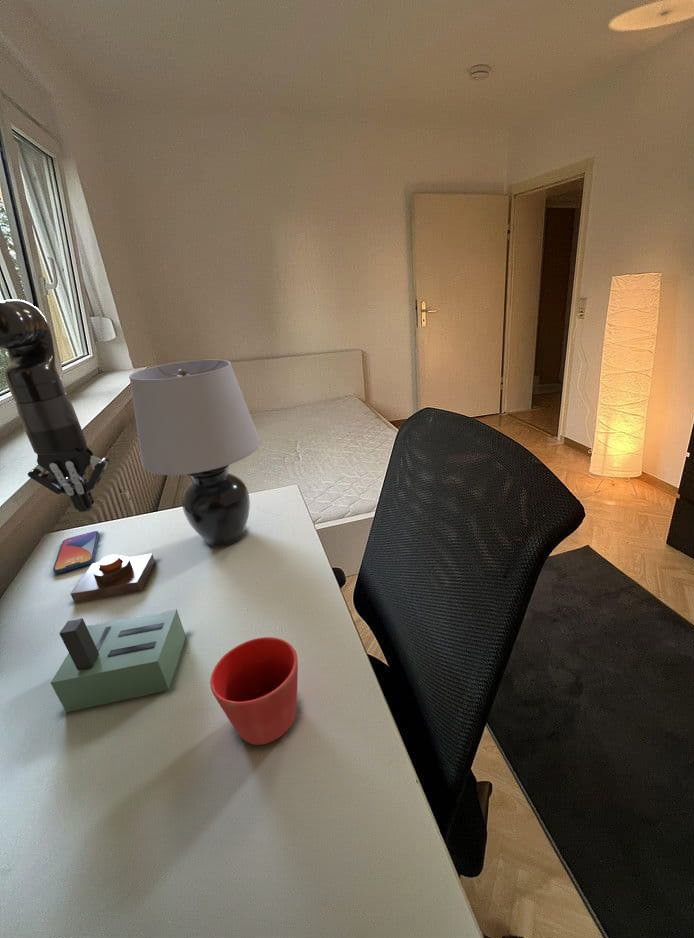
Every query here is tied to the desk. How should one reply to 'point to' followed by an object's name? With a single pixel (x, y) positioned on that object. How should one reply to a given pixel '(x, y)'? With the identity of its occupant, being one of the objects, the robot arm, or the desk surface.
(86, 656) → the slide button
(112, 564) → the round button
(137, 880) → the desk surface
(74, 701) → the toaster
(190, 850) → the desk surface
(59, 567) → the smartphone
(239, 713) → the flower pot
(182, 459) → the lamp
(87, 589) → the box
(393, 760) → the desk surface
